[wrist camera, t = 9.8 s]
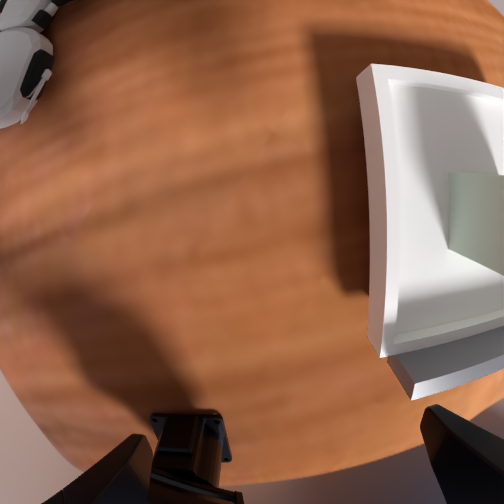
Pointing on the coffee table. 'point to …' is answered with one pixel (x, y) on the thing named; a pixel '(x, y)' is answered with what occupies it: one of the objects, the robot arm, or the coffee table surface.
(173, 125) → the coffee table surface
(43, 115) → the coffee table surface
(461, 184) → the part block
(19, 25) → the robot toy
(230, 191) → the coffee table surface
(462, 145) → the tray
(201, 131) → the coffee table surface
